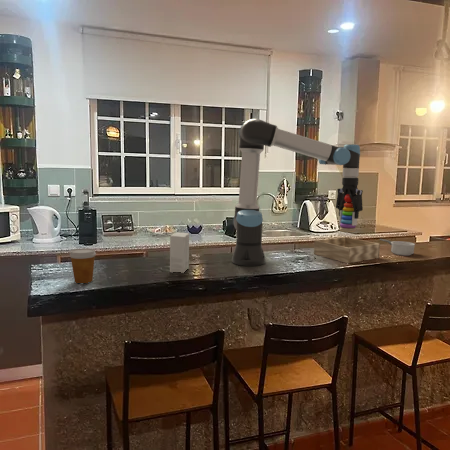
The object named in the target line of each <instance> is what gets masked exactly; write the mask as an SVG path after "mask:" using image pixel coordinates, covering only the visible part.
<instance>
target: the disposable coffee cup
mask: <svg viewBox="0 0 450 450" xmlns="http://www.w3.org/2000/svg"><path fill="white" fill-rule="evenodd" d="M96 255H97V252H96V251H95V249H93V248H87V247H85V248H84V247H83V248H82V247H81V248H73V249H72V250H70V252H69V255H68V256H69V257H70V261H71V267H72V274H73V278H74V283H75V282H76V283H75V284H77V283H87V284H89V283H88V282H91V281H92V282H93V278H94V269H95V257H96ZM92 282H91V283H92Z"/></svg>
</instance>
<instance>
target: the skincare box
mask: <svg viewBox="0 0 450 450" xmlns="http://www.w3.org/2000/svg"><path fill="white" fill-rule="evenodd" d="M169 237H170V238H169V240H170V241H169V272H170V273H173V272H181V273H180V274H185V273H186V272H187V271H188V270H187V269H189V266H190V233H189V232H178V231H177V232H176V231H175V232H174V233H173V234H171V235H169ZM186 270H187V271H186ZM185 271H186V272H185ZM184 272H185V273H184Z"/></svg>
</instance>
